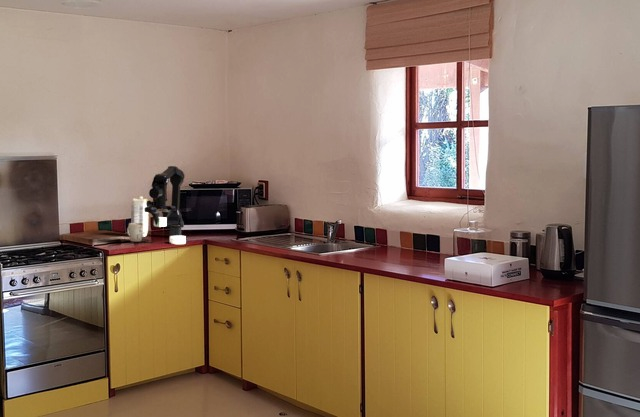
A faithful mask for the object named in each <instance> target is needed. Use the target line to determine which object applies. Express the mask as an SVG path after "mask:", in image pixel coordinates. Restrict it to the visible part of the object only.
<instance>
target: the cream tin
mask: <svg viewBox="0 0 640 417" xmlns="http://www.w3.org/2000/svg"><path fill="white" fill-rule="evenodd" d="M186 237H187V236H186V235H182V234H181V235H174V236H170V237H169V244H170V243H171V244H170V245H185V244H186V243H187V240H186V239H187V238H186Z"/></svg>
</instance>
